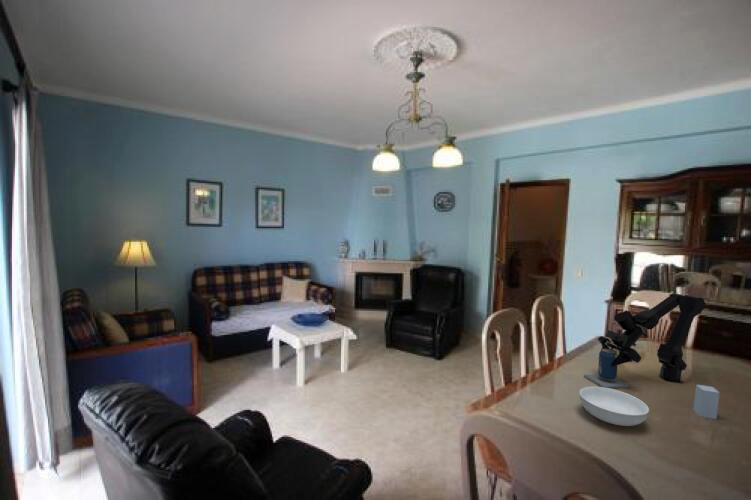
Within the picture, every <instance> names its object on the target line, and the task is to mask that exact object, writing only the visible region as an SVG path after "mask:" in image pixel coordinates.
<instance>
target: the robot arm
mask: <svg viewBox="0 0 751 500" xmlns="http://www.w3.org/2000/svg"><path fill="white" fill-rule="evenodd" d="M706 304H707V303H706V302H705V299H704V298H703V297H700V296H696V295H695V296H694V295H691V294H684V295H683V294H679V293H674V292H673V293H670V294H669V295H668V297H666V298H665V299H663V300H662V301H660V302H659V303H657V304H656V305H654V306H653V307H652V308H650V309H647V310H642V311H640V312H638V313H636V314H635V315H632V313H631V311H630V310H626V309H625V310H624V311H620V312H618V313H616V314H615V315H614V317H613V319H614V321H615V322H616V324H618V326H619V327H620V329H621V330H623V332H618V333H617V332H614V331H612V330H610V329H608V330H607V332H606V334H605V336H604V335H602V336H601V335H600V336H599V337H598V338H597V341H598V342H599V343H600V345H601V349H603V348H606V349H612V350H615V351H617V352H618V354H617V355H618V356H617V357H616V359H615V360H614V361H613V362H612V363H611V366H612V367H613V366H616V365H617V366H620V365H622V364H627V363H633V362H635V363H637V364H639V362H641V360H642V356H641V355H640V353H639V352H637V351H636V349H634V348H632V347H636V346H637V344H636V343H637V341H638V340H639V339H641V338H642V337H643V338H647V337H648V334H647V330H649V331H651V330H653V329H655V327H656V326H657V325H659V323H660V319H661V318H663V317H664V316H665V315H667V314H668V313H670V312H671V311H673V310H674V309H676V308H677V307H678V309H679V315H678V317H677V319H676V321H675V325H674V327H673V329H672V331H671V334H670V335H669V338H668V341H667V342H665V343H664V344H663V343H660V344H659V347H658V349H657V350H656V352H657V354H656V356H657V357H658V363H660V364H661V367H660V371H659V373H660V374H659V377H660V378H661V379H663V380H664V381H665V382H670V383H671V382H673V383H682V384H683V382H684V381H682V379H681V378H682V372H683V371H684V370H686V368H687V366H688V364H686V362H685V361H684V360H683V357H684V353H683V348H682V346H683V343H684V342H685V339H686V337H687V334H688V332H689V330H690V327H691V325H692V323H693V321H694V318H695V317H696V316H699V315H700V314H701V313H702V312H703V310H704V308H705V307H706ZM644 329H645V330H644ZM598 360H599V357H598Z"/></svg>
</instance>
